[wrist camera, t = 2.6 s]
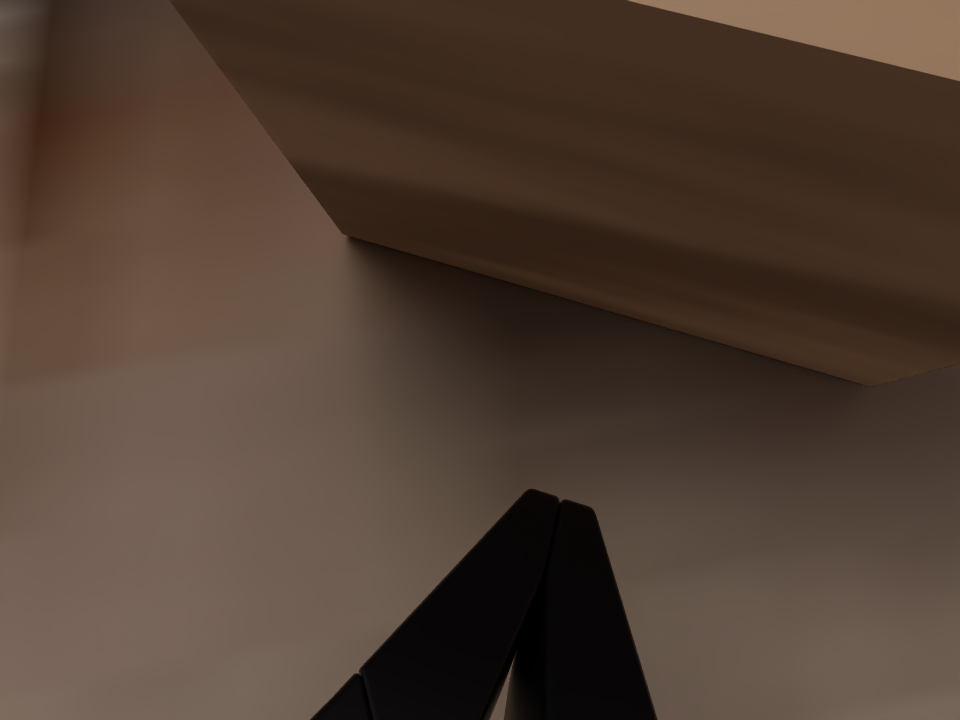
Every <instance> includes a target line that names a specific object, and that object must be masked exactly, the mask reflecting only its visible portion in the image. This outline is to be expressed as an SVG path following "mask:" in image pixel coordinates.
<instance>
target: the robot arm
mask: <svg viewBox="0 0 960 720" xmlns="http://www.w3.org/2000/svg"><path fill="white" fill-rule="evenodd" d="M559 503H560V504H559ZM514 656H515V657H514ZM513 659H514V661H513ZM512 662H513V665H512V670H511V676H510V682H509V688H508V695H507V702H506V709H505V716H504V720H657V716H656V713H655V710H654V706H653V703H652V700H651V696H650V693H649V690H648V686H647V683H646V680H645V676H644V673H643V670H642V666H641V663H640V660H639V656H638V653H637V650H636V646H635V643H634V640H633V636H632V633H631V630H630V626H629V623H628V620H627V616H626V613H625V610H624V606H623V603H622V600H621V597H620V593H619V590H618V587H617V583H616V580H615V577H614V573H613V570H612V567H611V563H610V560H609V557H608V553H607V550H606V547H605V543H604V540H603V537H602V533H601V530H600V527H599V523H598V520H597V517H596V514H595V512H594V510H593V509H592V508H591V507H589V506H586V505H582V504H579V503H576V502H573V501H570V500H566V499H565V500H562V501H561V502H560V501H559V498H558V497H557V496H554V495H551V494H548V493H545V492H542V491H539V490H535V489H528V490H527V491H525V492H524V493H523V494H522V496H521V497H520V498H519V499H518V500H517V501H516V502H515V503H514V504H513V505H512V506H511V507H510V508H509V509H508V511H507V512H506V513H505V514H504V515H503V516H502V517H501V518H500V519H499V520H498V521H497V522H496V523H495V524H494V525H493V527H492V528H491V529H490V530H489V531H488V532H487V533H486V534H485V535H484V536H483V537H482V538H481V539H480V540H479V542H478V543H477V544H476V545H475V546H474V547H473V548H472V549H471V550H470V551H469V552H468V553H467V554H466V555H465V556H464V558H463V559H462V560H461V561H460V562H459V563H458V564H457V565H456V566H455V567H454V568H453V569H452V570H451V571H450V573H449V574H448V575H447V576H446V577H445V578H444V579H443V580H442V581H441V582H440V583H439V584H438V585H437V586H436V587H435V589H434V590H433V591H432V592H431V593H430V594H429V595H428V596H427V597H426V598H425V599H424V600H423V601H422V602H421V604H420V605H419V606H418V607H417V608H416V609H415V610H414V611H413V612H412V613H411V614H410V615H409V616H408V617H407V618H406V620H405V621H404V622H403V623H402V624H401V625H400V626H399V627H398V628H397V629H396V630H395V631H394V632H393V633H392V635H391V636H390V637H389V638H388V639H387V640H386V641H385V642H384V643H383V644H382V645H381V646H380V647H379V648H378V649H377V651H376V652H375V653H374V654H373V655H372V656H371V657H370V658H369V659H368V660H367V661H366V662H365V663H364V664H363V666H362V667H361V668H360V669H359V674H357V673H356V674H354V675H353V676H352V677H351V678H350V679H349V680H348V681H347V682H346V683H345V684H344V685H343V686H342V687H341V688H340V690H339V691H338V692H337V693H336V694H335V695H334V696H333V697H332V698H331V699H330V700H329V701H328V702H327V703H326V704H325V705H324V706H323V707H322V708H321V709H320V710H319V711H318V712H317V713H316V714H315V715H314V716H313V717H312V718H311V719H310V720H490V718H491V715H492V713H493V710H494V708H495V705H496V703H497V700H498V698H499V696H500V693H501V691H502V688H503V686H504V683H505V680H506V678H507V675H508V672H509V670H510V667H511V664H512Z"/></svg>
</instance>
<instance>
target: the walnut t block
mask: <svg viewBox="0 0 960 720" xmlns="http://www.w3.org/2000/svg"><path fill="white" fill-rule="evenodd" d="M170 2H171V3H172V4H173V6H174V7H175V8H176V10H177V11H178V13H179V14H180V15H181V17H182V18H183V19H184V21H185V22H186V23H187V25H188V26H189V27H190V29H191V30H192V31H193V33H194V34H195V35H196V37H197V38H198V40H199V41H200V42H201V44H202V45H203V46H204V48H205V49H206V50H207V52H208V53H209V54H210V56H211V57H212V58H213V60H214V61H215V62H216V64H217V65H218V67H219V68H220V69H221V71H222V72H223V73H224V75H225V76H226V77H227V79H228V80H229V81H230V83H231V84H232V85H233V87H234V88H235V89H236V91H237V92H238V94H239V95H240V96H241V98H242V99H243V100H244V102H245V103H246V104H247V106H248V107H249V108H250V110H251V111H252V112H253V114H254V115H255V116H256V118H257V119H258V121H259V122H260V123H261V125H262V126H263V127H264V129H265V130H266V131H267V133H268V134H269V135H270V137H271V138H272V139H273V141H274V142H275V143H276V145H277V146H278V148H279V149H280V150H281V152H282V153H283V154H284V156H285V157H286V158H287V160H288V161H289V162H290V164H291V165H292V166H293V168H294V169H295V170H296V172H297V173H298V174H299V176H300V177H301V179H302V180H303V181H304V183H305V184H306V185H307V187H308V188H309V189H310V191H311V192H312V193H313V195H314V196H315V197H316V199H317V200H318V201H319V203H320V204H321V206H322V207H323V208H324V210H325V211H326V212H327V214H328V215H329V216H330V218H331V219H332V220H333V222H334V223H335V224H336V226H337V227H338V228H339V230H340V231H341V233H342V234H344V235H348V236H351V237H355V238H358V239H362V240H365V241H369V242H372V243H375V244H379V245H382V246H386V247H389V248H393V249H396V250H400V251H403V252H407V253H410V254H414V255H417V256H420V257H424V258H427V259H431V260H434V261H438V262H441V263H445V264H448V265H452V266H455V267H458V268H462V269H465V270H469V271H472V272H476V273H479V274H483V275H486V276H490V277H493V278H497V279H500V280H503V281H507V282H510V283H514V284H517V285H521V286H524V287H528V288H531V289H535V290H538V291H542V292H545V293H548V294H552V295H555V296H559V297H562V298H566V299H569V300H573V301H576V302H580V303H583V304H587V305H590V306H593V307H597V308H600V309H604V310H607V311H611V312H614V313H618V314H621V315H625V316H628V317H632V318H635V319H638V320H642V321H645V322H649V323H652V324H656V325H659V326H663V327H666V328H670V329H673V330H677V331H680V332H683V333H687V334H690V335H694V336H697V337H701V338H704V339H708V340H711V341H715V342H718V343H722V344H725V345H728V346H732V347H735V348H739V349H742V350H746V351H749V352H753V353H756V354H760V355H763V356H767V357H770V358H773V359H777V360H780V361H784V362H787V363H791V364H794V365H798V366H801V367H805V368H808V369H812V370H815V371H818V372H822V373H825V374H829V375H832V376H836V377H839V378H843V379H846V380H850V381H853V382H856V383H860V384H863V385H867V386H870V387H873V386H877V385H880V384H884V383H888V382H892V381H895V380H899V379H903V378H907V377H911V376H914V375H918V374H922V373H926V372H930V371H933V370H937V369H941V368H945V367H949V366H952V365H956V364H960V0H170Z"/></svg>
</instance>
